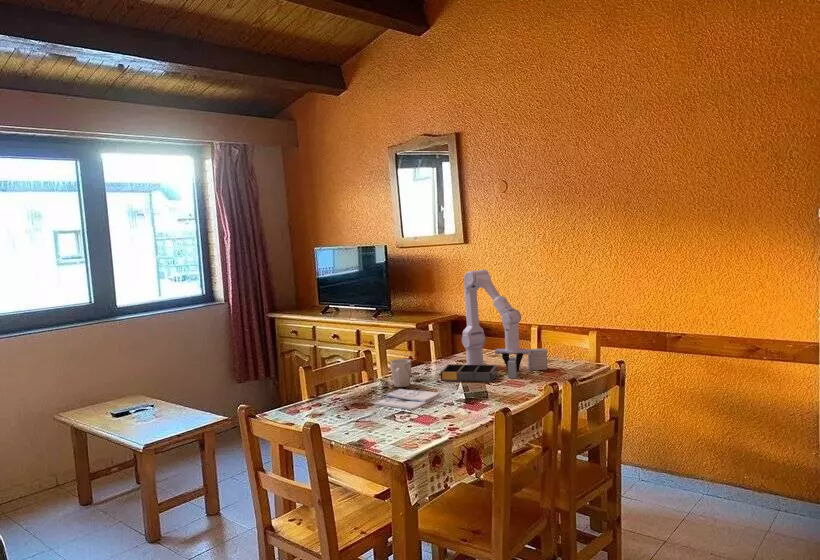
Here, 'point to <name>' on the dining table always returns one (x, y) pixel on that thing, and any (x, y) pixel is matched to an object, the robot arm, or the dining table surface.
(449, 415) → the dining table surface
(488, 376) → the rack
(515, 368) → the panel
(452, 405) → the dining table surface
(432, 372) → the dining table surface
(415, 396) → the open book
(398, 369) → the mug
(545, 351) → the medicine box
